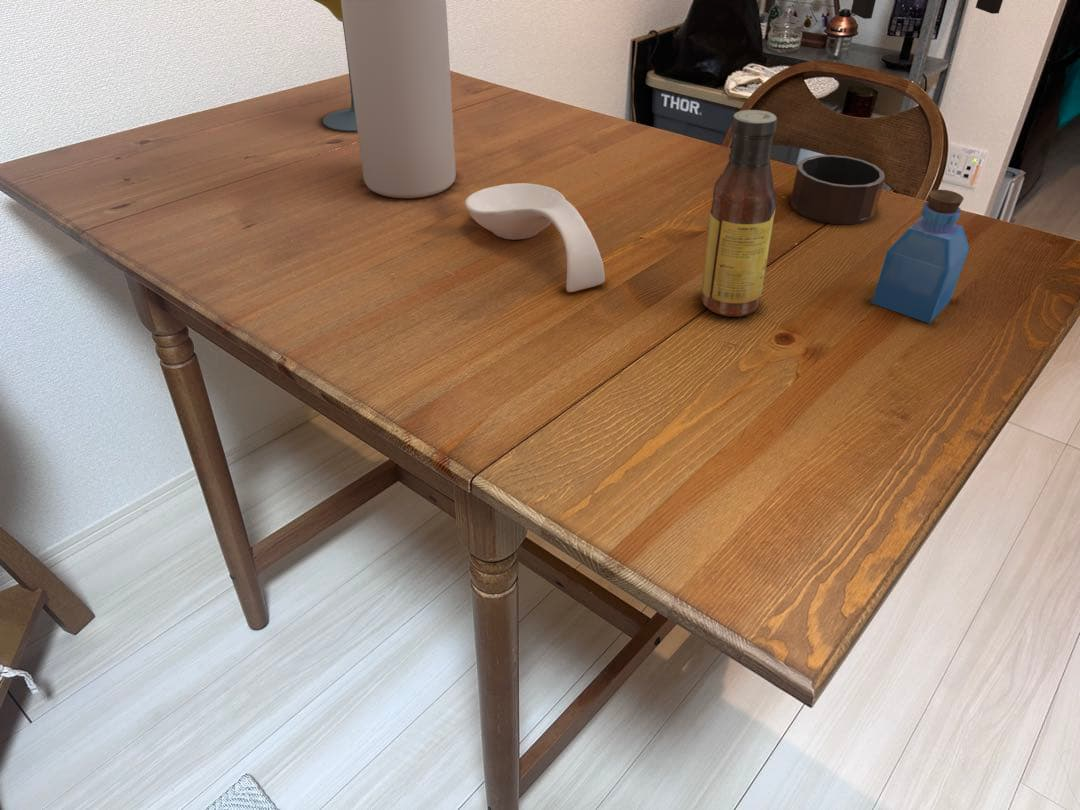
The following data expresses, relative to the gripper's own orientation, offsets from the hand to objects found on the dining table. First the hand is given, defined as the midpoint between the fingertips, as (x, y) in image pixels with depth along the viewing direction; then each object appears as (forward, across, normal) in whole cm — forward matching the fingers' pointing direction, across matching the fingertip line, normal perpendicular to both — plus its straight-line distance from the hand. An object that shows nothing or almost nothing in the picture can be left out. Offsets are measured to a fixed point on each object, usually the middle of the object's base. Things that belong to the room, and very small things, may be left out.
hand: (924, 13), depth 80 cm
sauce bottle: (+26, +20, +8) cm, 34 cm away
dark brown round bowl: (+26, -3, -13) cm, 29 cm away
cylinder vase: (+26, +51, -30) cm, 65 cm away
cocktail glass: (+26, +58, -57) cm, 85 cm away
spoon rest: (+26, +37, -8) cm, 46 cm away
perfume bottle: (+26, 0, +11) cm, 29 cm away
